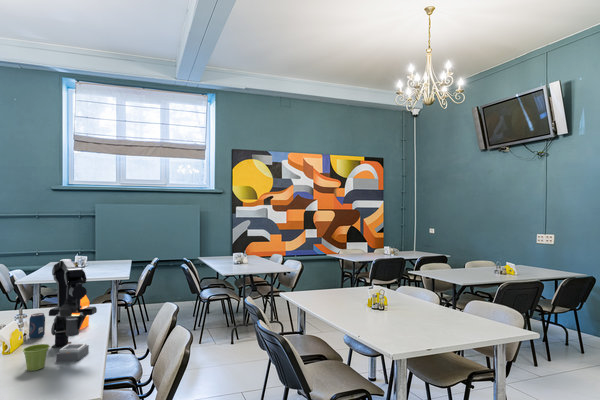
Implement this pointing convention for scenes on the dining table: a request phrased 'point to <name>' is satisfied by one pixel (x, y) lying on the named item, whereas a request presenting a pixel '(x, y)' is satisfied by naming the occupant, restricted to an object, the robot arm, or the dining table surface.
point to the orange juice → (84, 304)
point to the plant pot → (35, 356)
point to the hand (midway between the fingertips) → (72, 330)
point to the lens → (72, 326)
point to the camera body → (72, 352)
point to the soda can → (37, 326)
